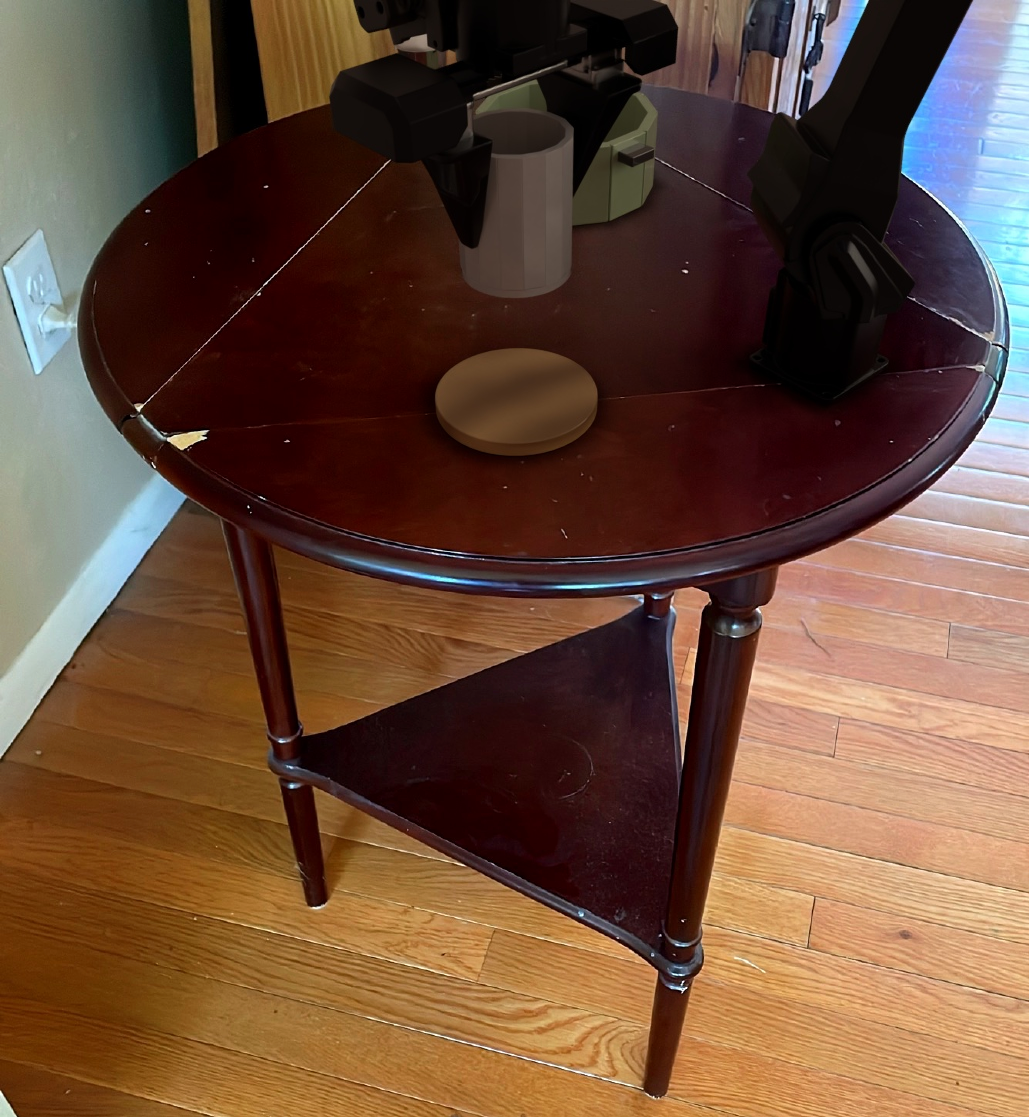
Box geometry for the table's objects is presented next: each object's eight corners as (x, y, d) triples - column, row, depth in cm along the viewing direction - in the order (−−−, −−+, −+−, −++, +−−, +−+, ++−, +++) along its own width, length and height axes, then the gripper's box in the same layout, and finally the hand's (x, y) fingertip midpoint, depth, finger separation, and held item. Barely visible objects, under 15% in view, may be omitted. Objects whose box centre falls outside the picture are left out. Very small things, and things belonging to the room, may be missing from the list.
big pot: (699, 192, 90) (707, 118, 86) (575, 250, 84) (576, 173, 79) (556, 129, 99) (557, 59, 95) (434, 177, 93) (429, 105, 89)
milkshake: (420, 116, 102) (411, -1, 95) (464, 132, 99) (458, 12, 92) (384, 133, 99) (373, 13, 92) (428, 149, 97) (419, 27, 90)
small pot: (594, 270, 64) (598, 132, 58) (511, 311, 61) (507, 169, 55) (521, 232, 67) (518, 98, 62) (439, 268, 64) (428, 131, 59)
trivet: (630, 408, 69) (631, 395, 69) (509, 479, 65) (508, 465, 64) (522, 342, 75) (522, 330, 74) (403, 403, 70) (402, 390, 69)
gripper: (542, -154, 60) (543, 132, 71) (241, -84, 52) (294, 230, 62) (697, -116, 54) (672, 191, 65) (385, -30, 45) (416, 308, 56)
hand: (515, 225), depth 62 cm, fingers closed on small pot, 6 cm apart
